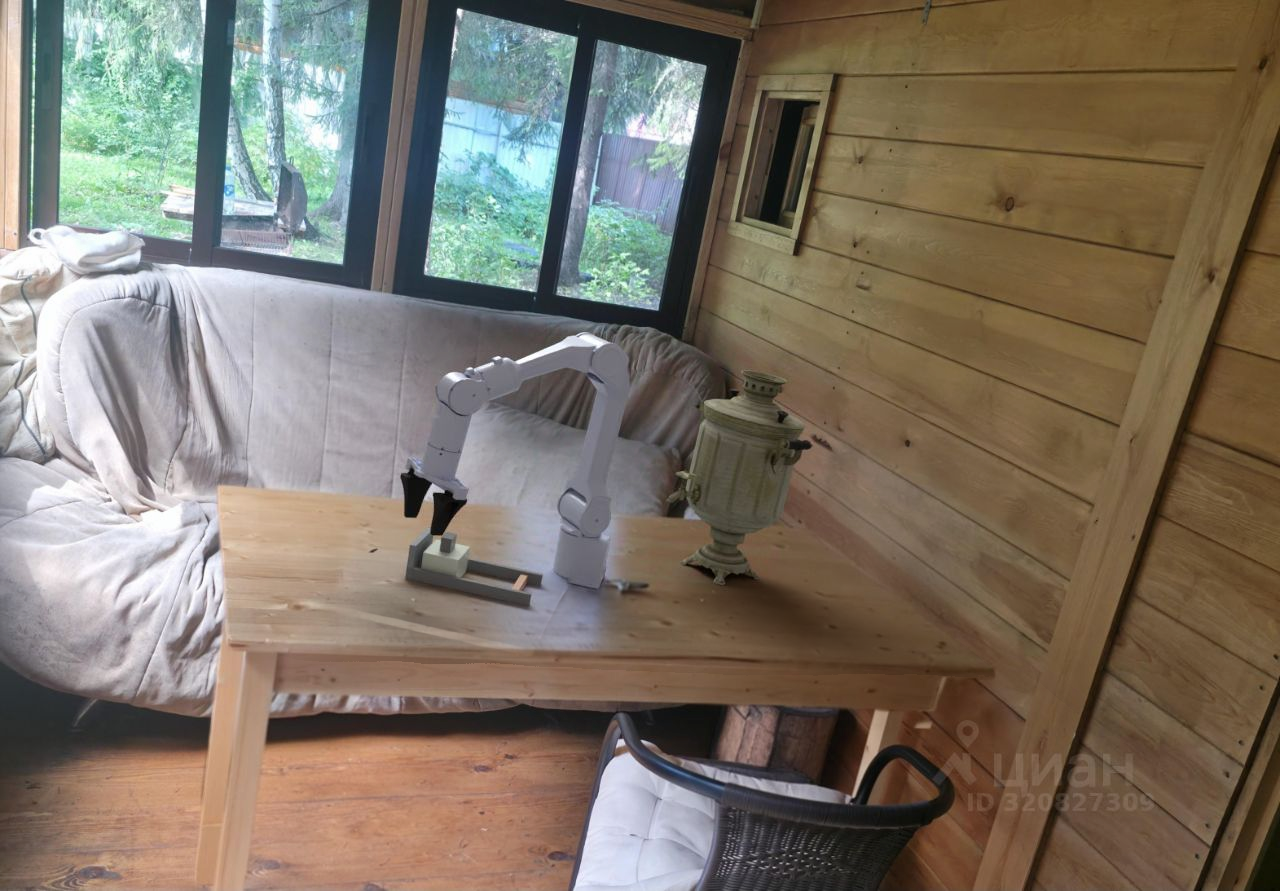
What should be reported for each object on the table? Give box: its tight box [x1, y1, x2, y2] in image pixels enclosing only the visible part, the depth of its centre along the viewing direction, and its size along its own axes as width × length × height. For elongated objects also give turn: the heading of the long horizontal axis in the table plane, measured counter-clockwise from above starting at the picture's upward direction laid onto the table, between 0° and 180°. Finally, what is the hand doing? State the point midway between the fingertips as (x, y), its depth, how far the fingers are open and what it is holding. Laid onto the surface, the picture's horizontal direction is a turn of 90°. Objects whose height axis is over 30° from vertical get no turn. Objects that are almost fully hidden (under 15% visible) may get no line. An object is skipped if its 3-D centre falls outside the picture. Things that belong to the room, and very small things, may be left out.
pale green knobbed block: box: [421, 531, 471, 578], centre depth 170 cm, size 6×7×7 cm
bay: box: [404, 526, 544, 607], centre depth 169 cm, size 21×12×7 cm, turn 83°
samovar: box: [666, 369, 814, 585], centre depth 195 cm, size 30×26×40 cm
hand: (423, 525), depth 164 cm, fingers open, 7 cm apart
